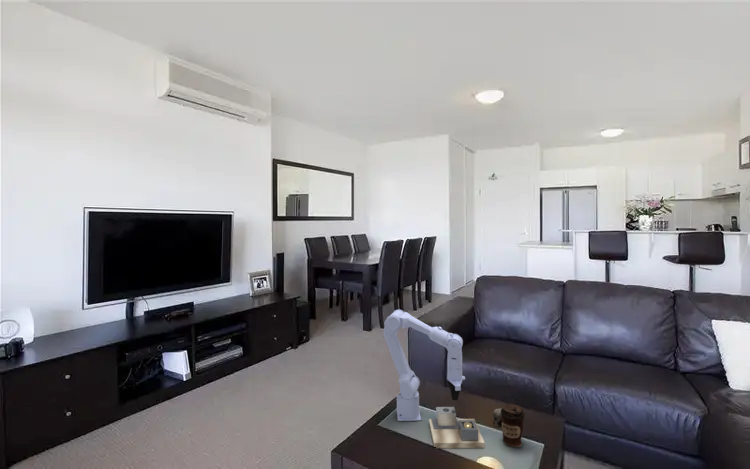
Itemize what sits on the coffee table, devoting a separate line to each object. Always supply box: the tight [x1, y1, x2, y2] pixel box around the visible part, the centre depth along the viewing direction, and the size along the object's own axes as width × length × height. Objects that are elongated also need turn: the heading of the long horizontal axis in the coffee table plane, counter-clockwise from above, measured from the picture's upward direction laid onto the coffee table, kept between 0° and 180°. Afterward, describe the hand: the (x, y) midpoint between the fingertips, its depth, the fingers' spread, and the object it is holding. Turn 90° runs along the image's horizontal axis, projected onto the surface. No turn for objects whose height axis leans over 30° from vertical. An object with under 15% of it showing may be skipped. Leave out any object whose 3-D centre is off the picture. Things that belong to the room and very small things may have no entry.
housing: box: [435, 406, 457, 427], centre depth 143 cm, size 7×4×6 cm, turn 88°
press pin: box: [464, 422, 472, 428], centre depth 135 cm, size 3×3×4 cm
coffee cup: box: [500, 403, 526, 448], centre depth 133 cm, size 9×8×13 cm
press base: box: [428, 418, 486, 449], centre depth 139 cm, size 18×15×6 cm
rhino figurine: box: [492, 407, 503, 428], centre depth 147 cm, size 4×14×6 cm, turn 117°
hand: (454, 399), depth 146 cm, fingers closed
